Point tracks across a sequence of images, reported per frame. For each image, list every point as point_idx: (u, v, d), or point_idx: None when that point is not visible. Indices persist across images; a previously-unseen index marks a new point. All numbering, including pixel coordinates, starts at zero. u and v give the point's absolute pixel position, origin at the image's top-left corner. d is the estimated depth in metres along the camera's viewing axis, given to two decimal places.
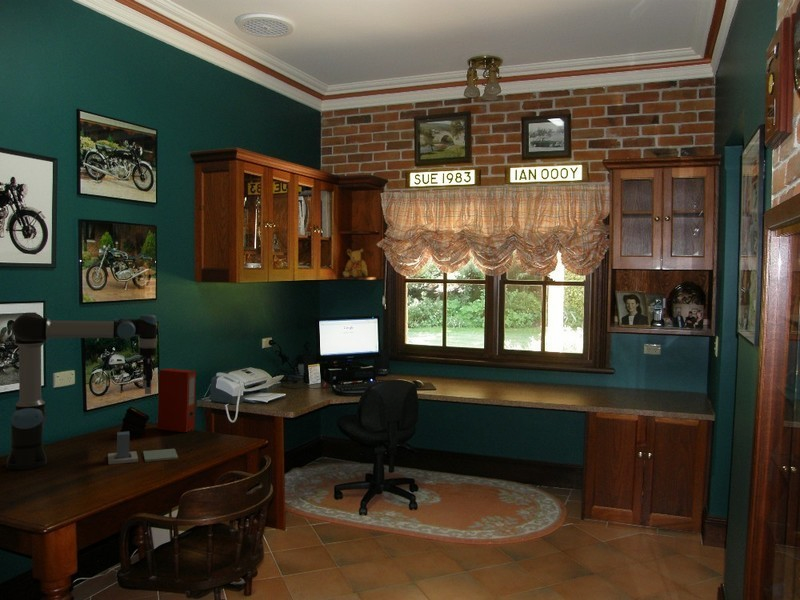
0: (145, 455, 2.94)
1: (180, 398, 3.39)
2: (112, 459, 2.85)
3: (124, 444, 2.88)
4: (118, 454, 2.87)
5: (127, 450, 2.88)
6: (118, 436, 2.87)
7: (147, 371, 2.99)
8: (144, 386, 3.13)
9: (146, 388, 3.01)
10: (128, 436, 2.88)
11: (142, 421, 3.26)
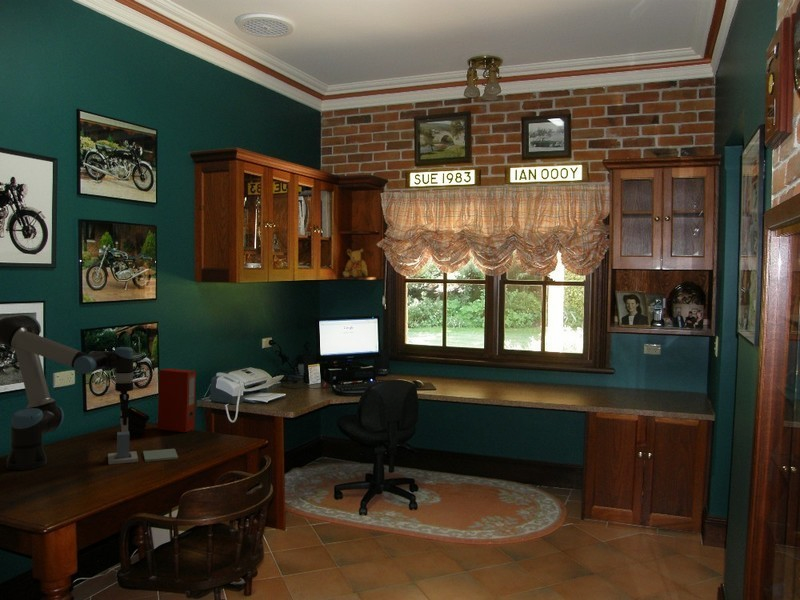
0: (145, 455, 2.94)
1: (180, 398, 3.39)
2: (112, 459, 2.85)
3: (124, 444, 2.88)
4: (118, 454, 2.87)
5: (127, 450, 2.88)
6: (118, 436, 2.87)
7: (123, 408, 2.81)
8: None
9: (123, 426, 2.83)
10: (128, 436, 2.88)
11: (142, 421, 3.26)
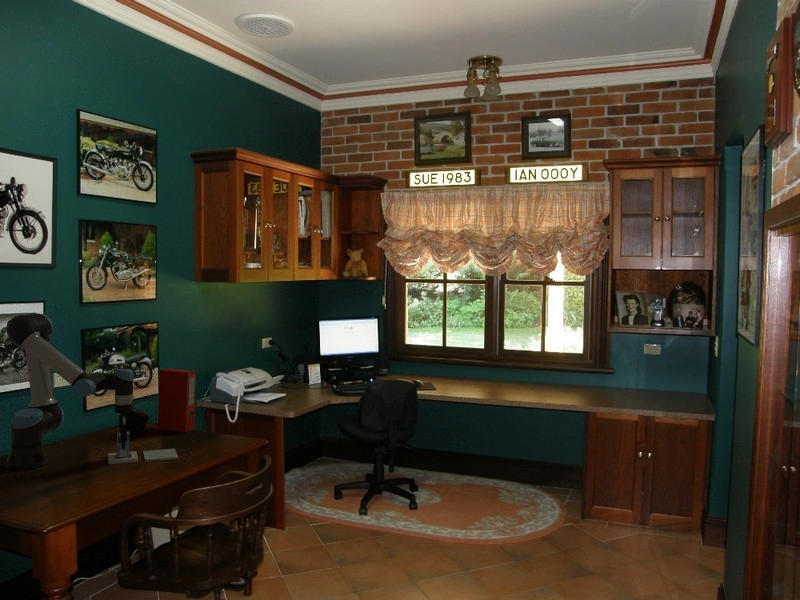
0: (145, 455, 2.94)
1: (180, 398, 3.39)
2: (112, 459, 2.85)
3: None
4: (118, 454, 2.87)
5: (127, 450, 2.88)
6: (118, 436, 2.87)
7: (122, 433, 2.84)
8: None
9: (121, 450, 2.87)
10: (128, 436, 2.88)
11: (142, 421, 3.26)
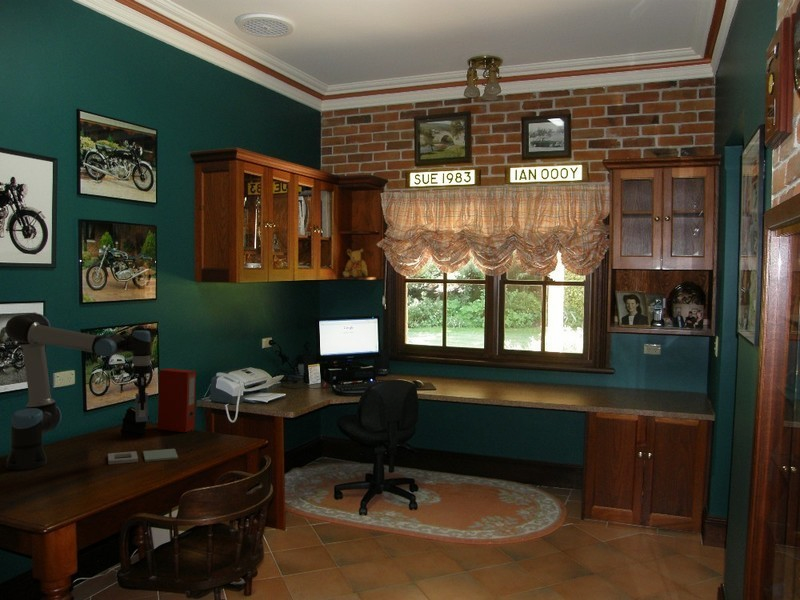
0: (145, 455, 2.94)
1: (180, 398, 3.39)
2: (112, 459, 2.85)
3: None
4: (137, 415, 2.89)
5: (146, 411, 2.91)
6: (137, 397, 2.89)
7: (141, 394, 2.86)
8: None
9: (140, 411, 2.89)
10: (146, 397, 2.90)
11: None
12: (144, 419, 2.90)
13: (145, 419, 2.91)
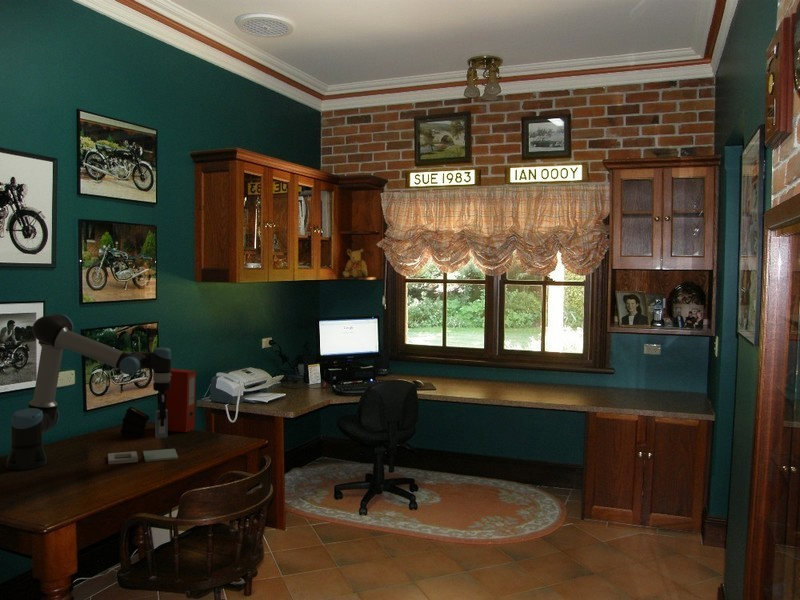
0: (145, 455, 2.94)
1: (180, 398, 3.39)
2: (112, 459, 2.85)
3: None
4: (157, 431, 2.93)
5: (165, 427, 2.95)
6: (157, 413, 2.93)
7: (161, 410, 2.90)
8: None
9: (160, 427, 2.93)
10: (166, 413, 2.95)
11: (142, 421, 3.26)
12: (164, 435, 2.95)
13: (165, 435, 2.95)
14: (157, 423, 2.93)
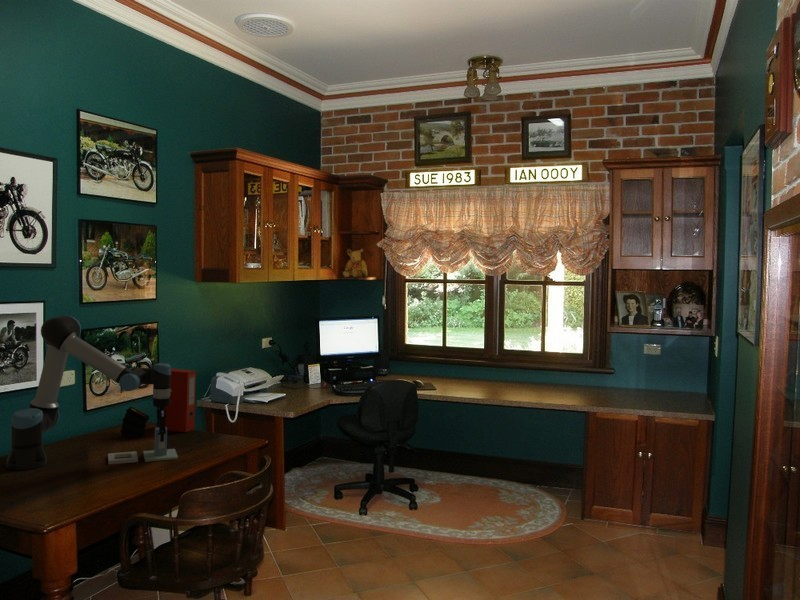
0: (145, 455, 2.94)
1: (180, 398, 3.39)
2: (112, 459, 2.85)
3: None
4: (156, 449, 2.94)
5: (165, 445, 2.95)
6: (156, 431, 2.93)
7: (161, 425, 2.89)
8: None
9: (160, 443, 2.92)
10: (166, 431, 2.95)
11: (142, 421, 3.26)
12: (163, 453, 2.95)
13: (164, 453, 2.95)
14: (156, 441, 2.94)
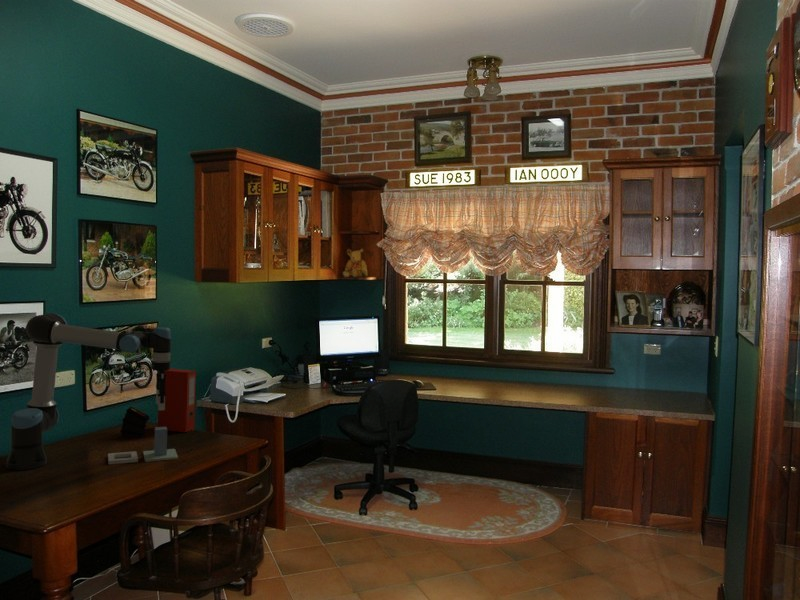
0: (145, 455, 2.94)
1: (180, 398, 3.39)
2: (112, 459, 2.85)
3: (162, 439, 2.95)
4: (156, 449, 2.94)
5: (165, 445, 2.95)
6: (156, 431, 2.93)
7: (161, 387, 2.88)
8: (157, 401, 3.02)
9: (160, 404, 2.89)
10: (166, 431, 2.95)
11: (142, 421, 3.26)
12: (163, 453, 2.95)
13: (164, 453, 2.95)
14: (156, 441, 2.94)
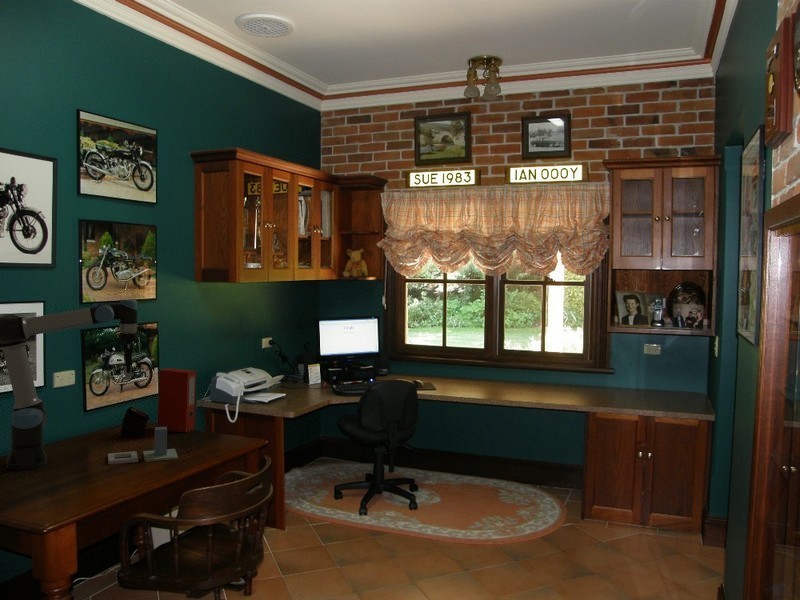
0: (145, 455, 2.94)
1: (180, 398, 3.39)
2: (112, 459, 2.85)
3: (162, 439, 2.95)
4: (156, 449, 2.94)
5: (165, 445, 2.95)
6: (156, 431, 2.93)
7: (127, 356, 2.95)
8: None
9: (126, 374, 2.96)
10: (166, 431, 2.95)
11: (142, 421, 3.26)
12: (163, 453, 2.95)
13: (164, 453, 2.95)
14: (156, 441, 2.94)
